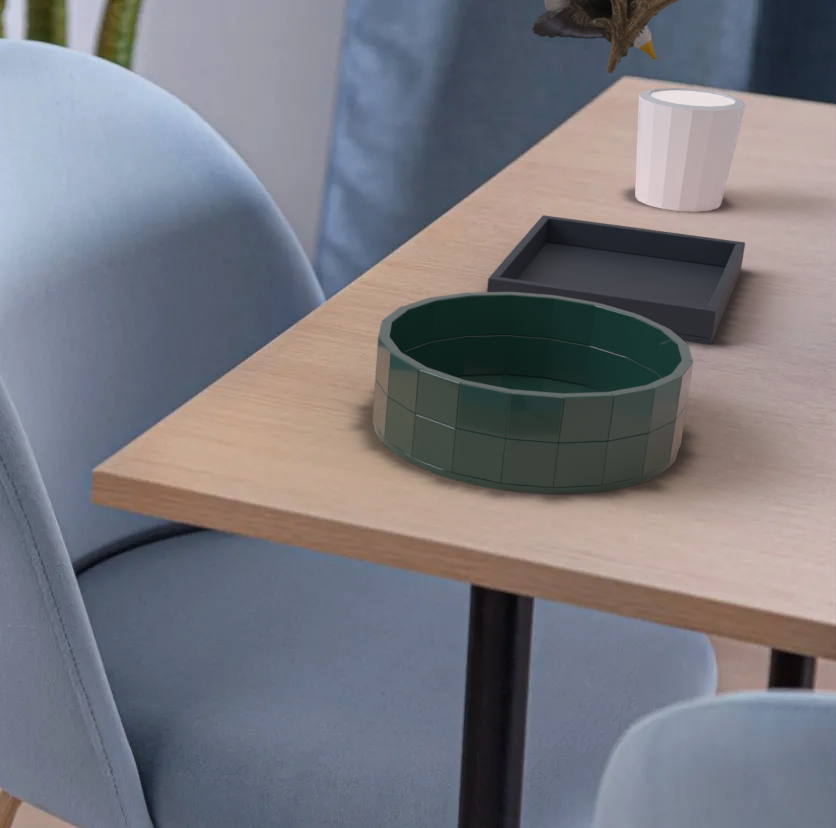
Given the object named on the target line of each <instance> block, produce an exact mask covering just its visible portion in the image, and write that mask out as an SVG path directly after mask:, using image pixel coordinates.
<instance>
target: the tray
mask: <svg viewBox="0 0 836 828" xmlns="http://www.w3.org/2000/svg"><path fill="white" fill-rule="evenodd" d="M745 248H746V242H744V241H738V240H729V239H722V238H717V237H716V238H715V237H709V236H708V237H706V236H701V235H700V236H699V235H694V234H693V235H692V234H685V233H678V232H672V231H671V232H670V231H662V230H656V229H649V228H643V227H633V226H627V225H618V224H612V223H611V224H610V223H603V222H596V221H590V220H589V221H588V220H581V219H574V218H566V217H559V216H552V215H545V214H543V215H542V216H541V217H540V218H538V220H537V222H535V224H534V225H532V227H531V228H530V229H529V230H528V232H527V233H526V234H525V235H524V237H522V239H521V240H520V241H519V242H518V244H517V245H515V247H514V248H513V249H512V250H511V252H510V253H509V254H507V256H506V257H505V258H504V260H503V261H502V262H501V263H500V264H499V265H498V266H497V268H496V269H495V270H494V271H493V272H492V273H491V275H489V277H488V278H487V287H486V288H487V289H486V292H519V293H532V294H545V295H555V296H562V297H568V298H573V299H579V300H585V301H591V302H596V303H601V304H604V305H608V306H611V307H615V308H618V309H621V310H625V311H628V312H632V313H635V314H638V315H641V316H643V317H645V318H647V319H649V320H651V321H654V322H656V323H658V324H660V325H662V326H664V327H667V328H669V329H670V330H672V331H673V332H674V333H675V334H676V335H677V336H679V337H680V338H681V339H682V340H683V341H685V342H690V343H694V344H695V343H696V344H702V345H710V346H711V345H712V343H713V341H714V338H715V336H716V333H717V331H718V329H719V326H720V323H721V321H722V318H723V317H724V314H725V311H726V309H727V307H728V304H729V301H730V300H731V297H732V294H733V292H734V290H735V287H736V285H737V283H738V280H739V278H740V276H741V272H742V265H743V261H744V253H745Z"/></svg>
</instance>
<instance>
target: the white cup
mask: <svg viewBox="0 0 836 828" xmlns="http://www.w3.org/2000/svg"><path fill="white" fill-rule="evenodd" d="M746 106H747V103H746V102H745V101H744V100H743V99H741V98H738V97H736V96H733V95H730V94H727V93H726V94H725V93H721V92H716V91H713V90H712V91H711V90H705V89H697V88H686V87H685V88H684V87H683V88H681V87H666V88H665V87H664V88H652V89H647V90H646V89H645V90H642V91H641V92H640V93H639V94H638V109H637V110H638V111H637V116H638V117H637V140H636V161H635V163H636V164H635V165H636V166H635V189H634V190H635V191H634V197H635V198H636V200H637V201H639V202H640V203H642V204H645V205H647V206H650V207H654V208H658V209H662V210H670V211H674V212H675V211H677V212H690V213H697V212H709V211H713V210H716V209H719V208H720V206H721V205H722V202H723V197H724V194H725V190H726V186H727V182H728V178H729V174H730V170H731V166H732V162H733V158H734V154H735V151H736V146H737V141H738V138H739V133H740V130H741V126H742V122H743V117H744V114H745V109H746Z"/></svg>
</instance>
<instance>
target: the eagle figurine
mask: <svg viewBox="0 0 836 828" xmlns="http://www.w3.org/2000/svg"><path fill="white" fill-rule="evenodd" d="M676 2H679V0H544V5H545V9H546V11H545V12H544V13H543V14H541V15H539V16H538V17H537V19H536V20H535V21H534V23H533V26H532V29H531V31H532V32H533V34H535V35H537V36H539V37H542V38H545V37H548V38H550V39H553V38H556V37H559V38H572V39H585V40H586V39H587V40H590V39H592V40H593V39H605V40H606V41H607V42H608V43H610V44H611V47H610V50H609V52H608V60H607V64H606V72H607V74H613V73H614V72H615V70H616V68H617V66H618V64H619V63H620V62H621V60H622V58H624V57H625V58H626V57H627V56H628V54H629V50H630V48H632V47H636V49H639V50H640V51H643V52H644V53H645V54H647V56H649V57H650V58H651V59H652V60H655V61H656V60H657V59H658V56H657V54H656V52H655V48H654V46H653V35H652V32H651V31H650V28H649V26H648V23H649V22H650V21H651V19H653V17H655V16H657V15H658V14H659V12H661V11H662V10H664V9H666V8H667V7H668V6H670V5H672V4H674V3H676Z"/></svg>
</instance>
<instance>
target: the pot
mask: <svg viewBox="0 0 836 828" xmlns="http://www.w3.org/2000/svg"><path fill="white" fill-rule="evenodd" d="M376 351H377V352H376V364H375V379H374V390H373V391H374V392H373V404H372V405H373V407H372V424H373V429H374V433H375V434H376V436H377V438H378V440H379V441H380V442H381V443H382V444H383V445H384V446H385V447H386V448H387V449H388V450H390V451H391V452H392V453H393V454H394V455H396V456H397V457H400V458H401V459H402V460H404V461H405V462H407V463H409V464H412V465H414V466H416V467H417V468H420V469H421V470H425V471H427V472H430V473H433V474H435V475H438V476H440V477H444V478H447V479H450V480H454V481H457V482H461V483H465V484H469V485H473V486H477V487H482V488H487V489H494V490H499V491H506V492H515V493H524V494H538V495H580V494H581V495H583V494H593V493H603V492H608V491H615V490H621V489H625V488H628V487H633V486H637V485H640V484H643V483H645V482H648V481H650V480H652V479H654V478H655V477H658V476H660V475H661V474H663V473H664V472H666V471H667V470H668V469H669V468H670V467H671V466H672V465H673V464H674V463H675V461H676V459H677V457H678V453H679V449H680V448H681V445H682V439H683V433H684V432H683V431H684V428H685V427H684V426H685V419H686V412H687V404H688V399H689V394H690V386H691V380H692V372H693V367H694V359H693V355H692V352H691V348H690V345H689V344H688V343H687V341H683V340H682V339H681V338H680V337H679V336H677V335H676V334H675V333H674V332H673V331H672V330H670V329H669V328H667V327H664V326H662V325H660V324H658V323H656V322H654V321H651V320H649V319H647V318H645V317H643V316H641V315H638V314H635V313H632V312H628V311H625V310H621V309H618V308H615V307H611V306H608V305H604V304H601V303H596V302H591V301H585V300H579V299H573V298H568V297H562V296H555V295H545V294H532V293H519V292H487V291H481V292H480V291H479V292H475V291H474V292H462V293H461V292H460V293H455V294H447V295H440V296H433V297H427V298H424V299H421V300H418V301H415V302H412V303H408V304H405V305H402V306H400V307H397V308H396V309H395V310H394V311H392V312H391V313H390V314H388V315H387V316H386V317H384V318H383V319H382V320H381V322H380V326H379V331H378V336H377V348H376Z"/></svg>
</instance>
